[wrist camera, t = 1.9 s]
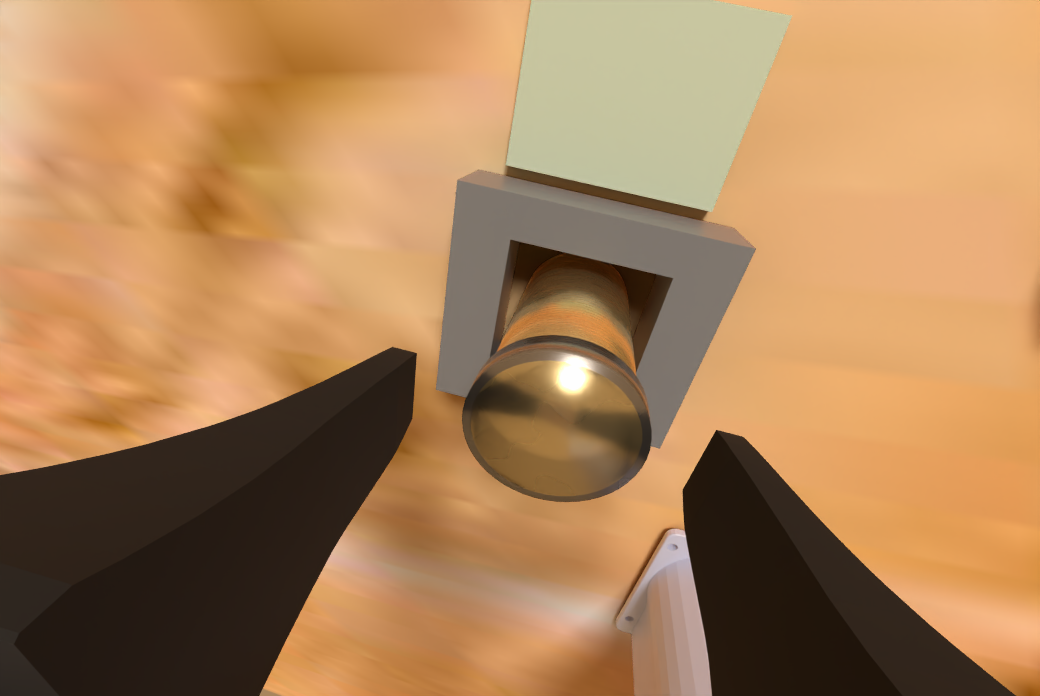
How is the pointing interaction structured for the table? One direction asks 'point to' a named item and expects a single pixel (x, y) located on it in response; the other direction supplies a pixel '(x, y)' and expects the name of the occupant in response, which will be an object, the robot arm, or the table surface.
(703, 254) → the gray block
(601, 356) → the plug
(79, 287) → the table surface
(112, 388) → the table surface
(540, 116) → the mat
